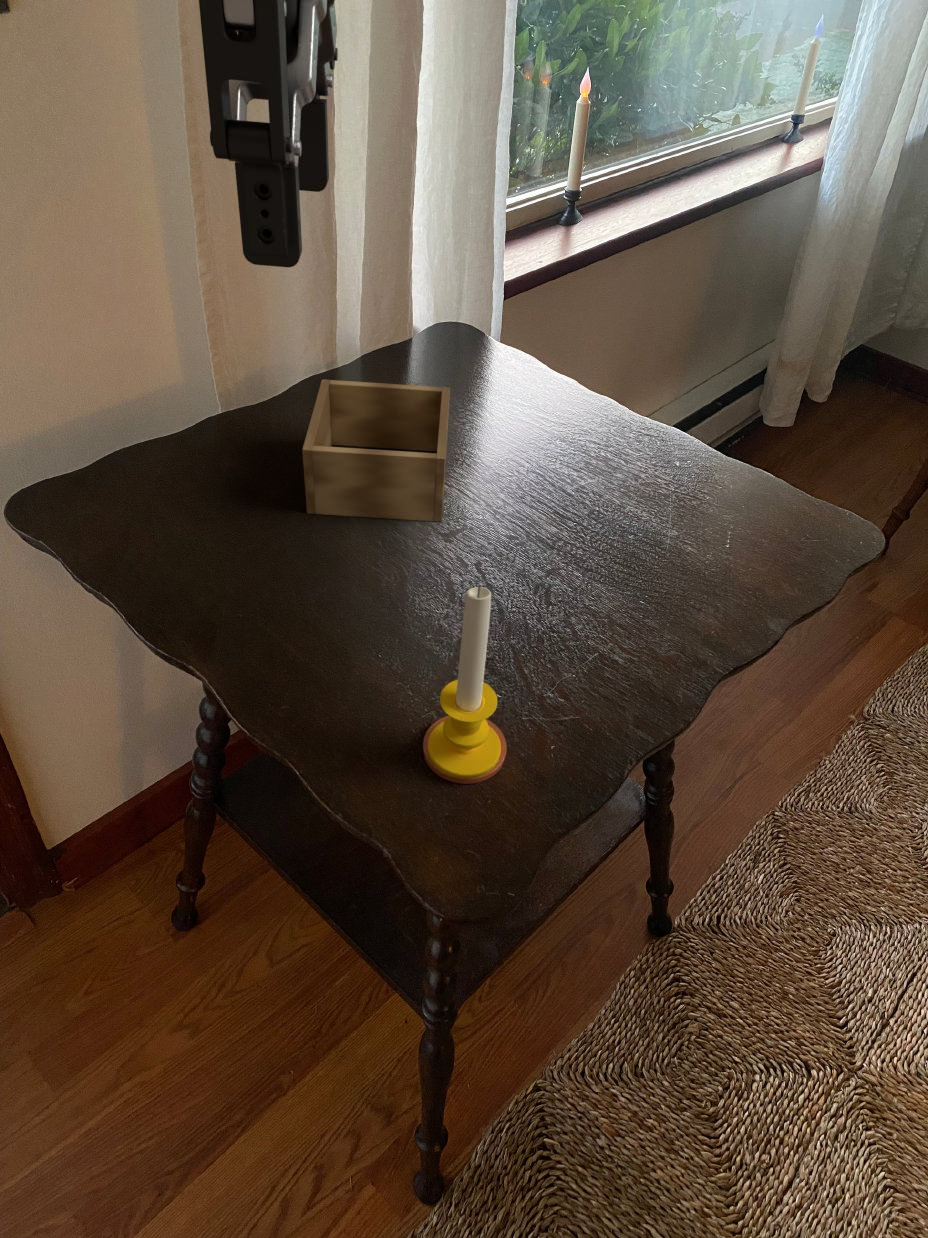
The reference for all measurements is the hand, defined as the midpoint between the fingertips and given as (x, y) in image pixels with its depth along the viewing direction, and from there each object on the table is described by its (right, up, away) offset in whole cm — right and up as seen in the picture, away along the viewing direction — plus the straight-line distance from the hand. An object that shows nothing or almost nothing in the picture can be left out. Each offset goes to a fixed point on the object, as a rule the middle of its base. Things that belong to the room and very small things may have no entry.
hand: (290, 222), depth 39 cm
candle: (+7, -27, +25) cm, 37 cm away
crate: (-1, -3, +50) cm, 50 cm away
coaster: (+8, -27, +26) cm, 38 cm away
